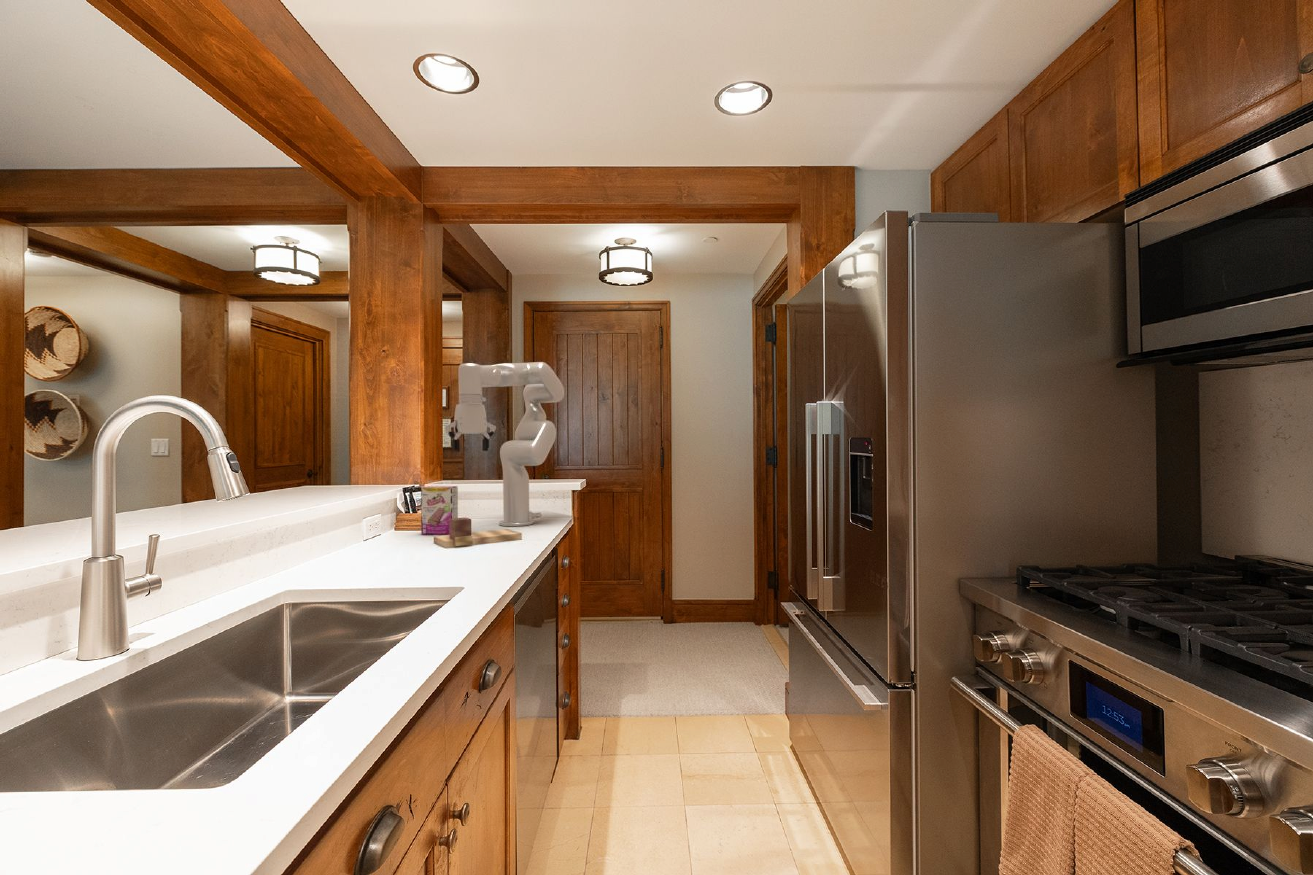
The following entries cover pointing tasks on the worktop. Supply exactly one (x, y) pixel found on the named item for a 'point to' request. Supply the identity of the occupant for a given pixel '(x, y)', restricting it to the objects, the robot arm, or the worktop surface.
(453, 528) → the brown block
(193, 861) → the worktop surface
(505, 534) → the pine board
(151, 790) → the worktop surface
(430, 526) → the candy bar box
